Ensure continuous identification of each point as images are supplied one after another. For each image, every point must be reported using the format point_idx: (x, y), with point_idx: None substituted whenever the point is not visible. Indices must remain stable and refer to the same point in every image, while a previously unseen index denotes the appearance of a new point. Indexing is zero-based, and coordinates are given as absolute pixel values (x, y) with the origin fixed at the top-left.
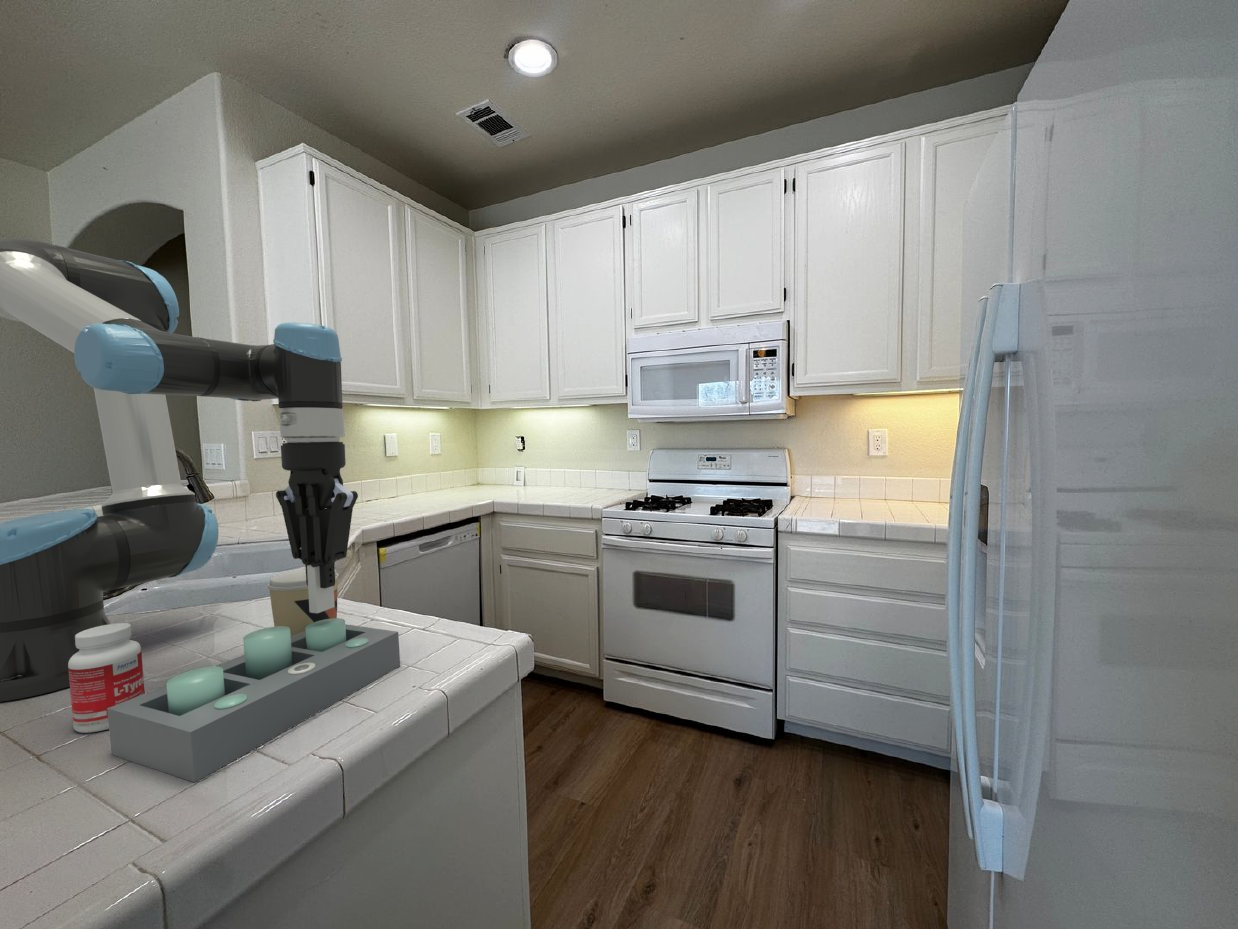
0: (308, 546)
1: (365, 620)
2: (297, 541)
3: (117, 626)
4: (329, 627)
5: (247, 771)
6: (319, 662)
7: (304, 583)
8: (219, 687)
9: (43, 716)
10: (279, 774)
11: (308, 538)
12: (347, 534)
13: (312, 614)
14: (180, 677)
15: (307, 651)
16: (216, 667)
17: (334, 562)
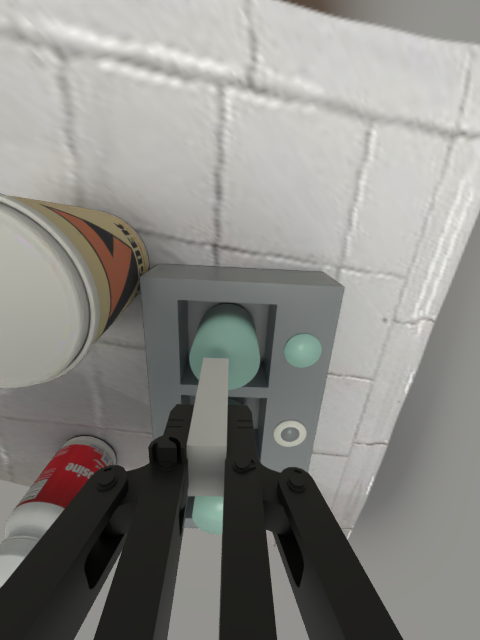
0: (176, 569)
1: (46, 64)
2: (97, 590)
3: (17, 565)
4: (247, 370)
5: (317, 469)
6: (296, 413)
7: (75, 356)
8: None
9: (8, 466)
10: (348, 465)
11: (168, 615)
12: (373, 599)
13: (120, 309)
14: (204, 522)
15: (242, 391)
16: (218, 500)
17: (260, 465)
